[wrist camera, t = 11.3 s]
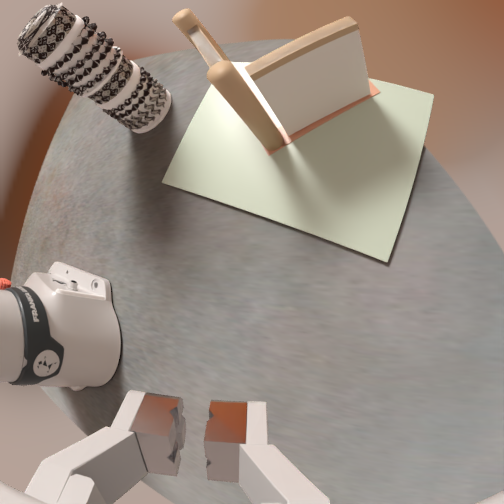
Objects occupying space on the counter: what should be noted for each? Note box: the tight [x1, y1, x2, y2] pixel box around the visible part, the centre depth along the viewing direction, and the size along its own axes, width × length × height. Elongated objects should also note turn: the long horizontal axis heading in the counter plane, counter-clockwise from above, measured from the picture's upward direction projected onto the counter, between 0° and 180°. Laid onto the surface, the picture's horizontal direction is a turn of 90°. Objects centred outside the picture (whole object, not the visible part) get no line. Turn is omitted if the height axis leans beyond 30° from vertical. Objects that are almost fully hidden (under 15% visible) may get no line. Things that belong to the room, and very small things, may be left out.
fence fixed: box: [172, 9, 283, 151], centre depth 32 cm, size 16×2×14 cm, turn 25°
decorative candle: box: [17, 3, 172, 134], centre depth 34 cm, size 9×9×25 cm
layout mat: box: [162, 62, 434, 263], centre depth 35 cm, size 29×20×1 cm
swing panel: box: [244, 16, 371, 136], centre depth 28 cm, size 11×1×11 cm, turn 112°
